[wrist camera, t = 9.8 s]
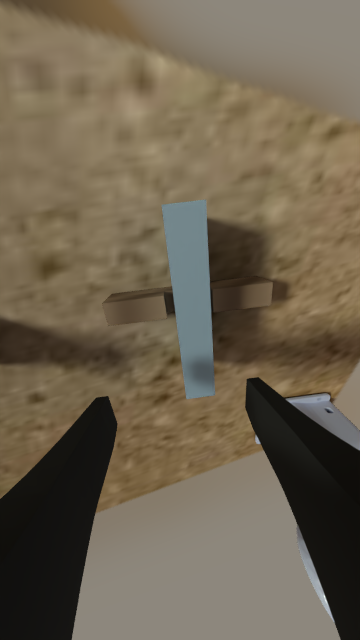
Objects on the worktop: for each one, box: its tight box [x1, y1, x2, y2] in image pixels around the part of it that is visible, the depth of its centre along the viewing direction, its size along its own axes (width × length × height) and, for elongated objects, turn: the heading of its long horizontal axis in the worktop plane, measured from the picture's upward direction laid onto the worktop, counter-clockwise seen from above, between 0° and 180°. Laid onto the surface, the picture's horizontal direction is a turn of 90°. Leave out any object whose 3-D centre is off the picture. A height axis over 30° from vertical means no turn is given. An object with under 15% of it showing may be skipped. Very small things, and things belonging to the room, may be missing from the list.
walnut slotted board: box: [102, 276, 273, 326], centre depth 17 cm, size 14×2×3 cm, turn 96°
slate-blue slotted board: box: [162, 200, 215, 399], centre depth 15 cm, size 2×14×6 cm, turn 7°
